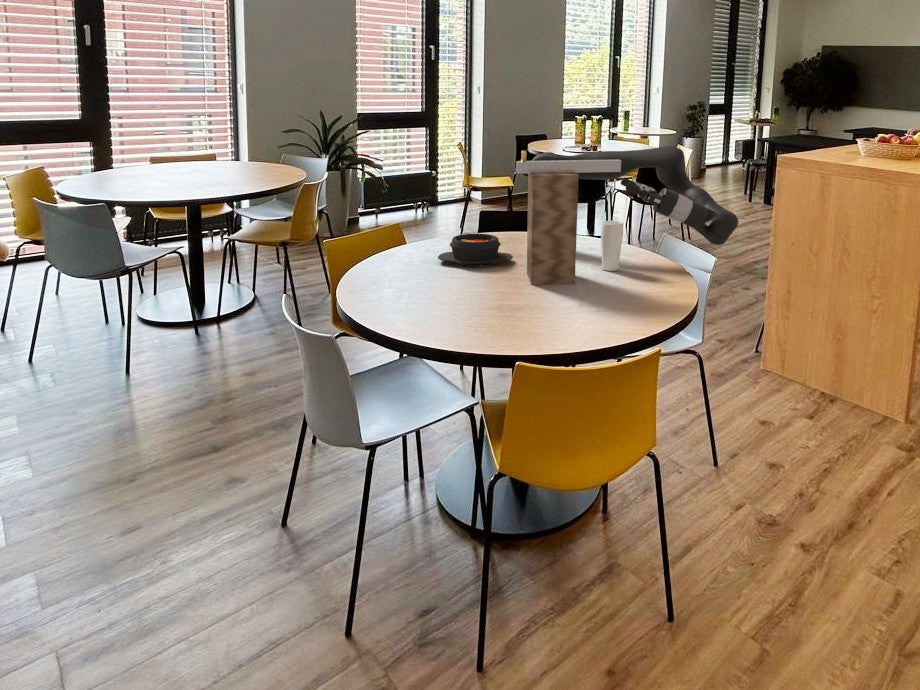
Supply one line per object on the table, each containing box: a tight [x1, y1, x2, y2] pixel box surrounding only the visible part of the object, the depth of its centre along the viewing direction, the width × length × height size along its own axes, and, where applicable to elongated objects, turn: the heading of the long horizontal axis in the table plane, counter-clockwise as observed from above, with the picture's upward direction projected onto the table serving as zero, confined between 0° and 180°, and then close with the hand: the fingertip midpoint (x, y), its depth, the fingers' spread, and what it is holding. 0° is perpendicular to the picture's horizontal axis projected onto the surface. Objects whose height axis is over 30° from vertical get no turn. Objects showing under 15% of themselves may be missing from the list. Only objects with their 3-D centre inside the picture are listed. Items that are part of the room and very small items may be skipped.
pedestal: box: [526, 173, 579, 286], centre depth 237 cm, size 13×13×32 cm
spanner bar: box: [515, 150, 621, 175], centre depth 231 cm, size 30×3×6 cm, turn 91°
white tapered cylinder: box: [600, 220, 624, 272], centre depth 250 cm, size 7×7×15 cm
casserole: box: [437, 233, 514, 267], centre depth 263 cm, size 25×19×8 cm
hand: (624, 183), depth 233 cm, fingers open, 8 cm apart
